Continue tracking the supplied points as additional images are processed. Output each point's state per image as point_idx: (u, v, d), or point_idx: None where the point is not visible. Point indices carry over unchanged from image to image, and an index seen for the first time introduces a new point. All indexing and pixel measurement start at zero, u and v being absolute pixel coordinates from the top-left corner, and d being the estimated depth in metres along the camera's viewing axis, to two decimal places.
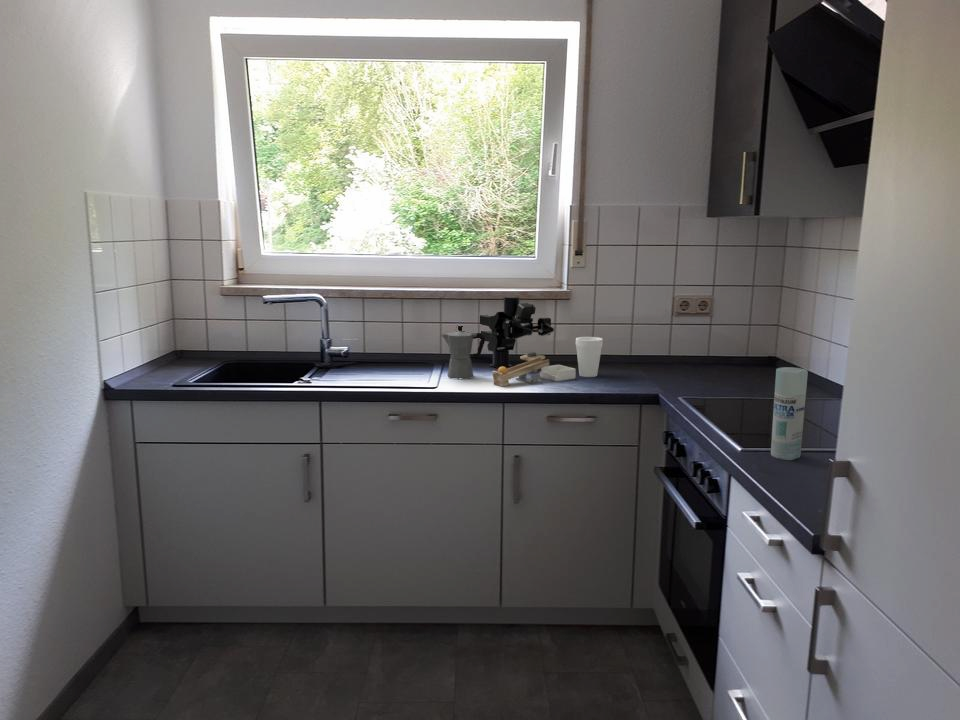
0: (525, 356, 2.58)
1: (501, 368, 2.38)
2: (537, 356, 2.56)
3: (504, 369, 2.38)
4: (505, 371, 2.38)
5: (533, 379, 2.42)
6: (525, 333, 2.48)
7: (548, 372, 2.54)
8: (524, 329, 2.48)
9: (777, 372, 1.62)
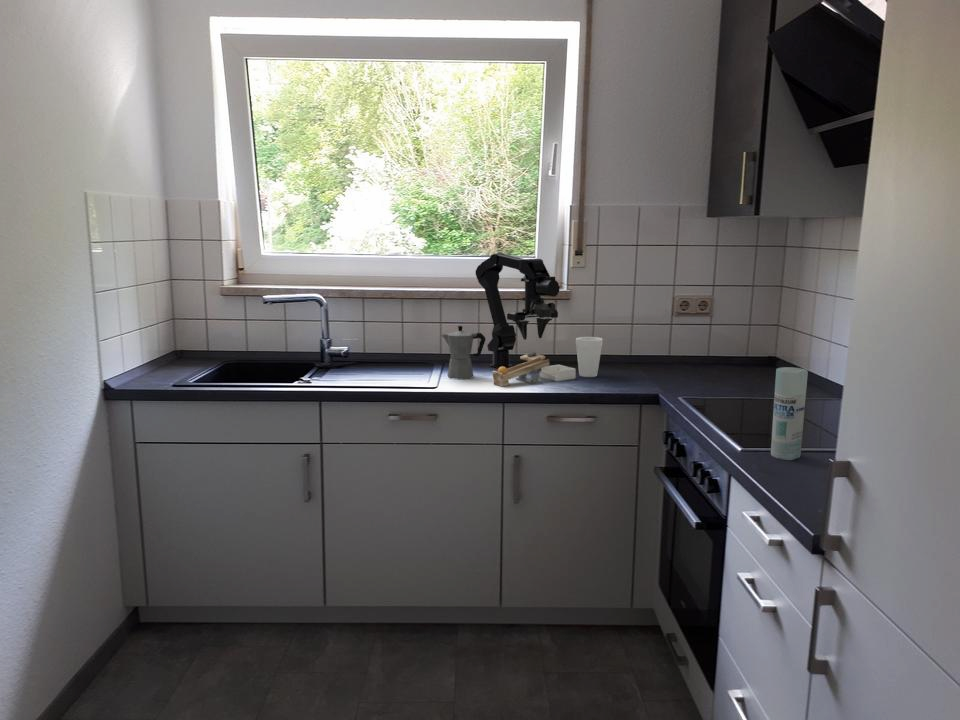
0: (525, 356, 2.58)
1: (501, 368, 2.38)
2: (537, 356, 2.56)
3: (504, 369, 2.38)
4: (505, 371, 2.38)
5: (533, 379, 2.42)
6: (521, 332, 2.55)
7: (548, 372, 2.54)
8: (523, 331, 2.54)
9: (777, 372, 1.62)
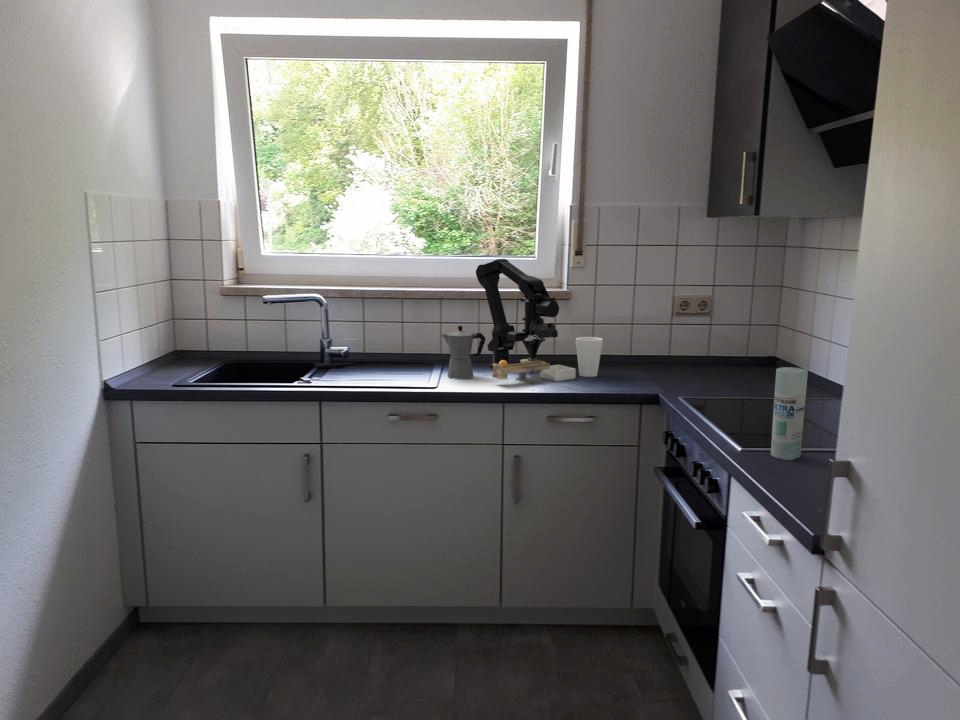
0: (525, 360, 2.58)
1: (502, 361, 2.38)
2: None
3: (505, 363, 2.38)
4: (506, 365, 2.38)
5: (533, 379, 2.42)
6: (528, 351, 2.58)
7: (548, 372, 2.54)
8: (530, 351, 2.57)
9: (777, 372, 1.62)
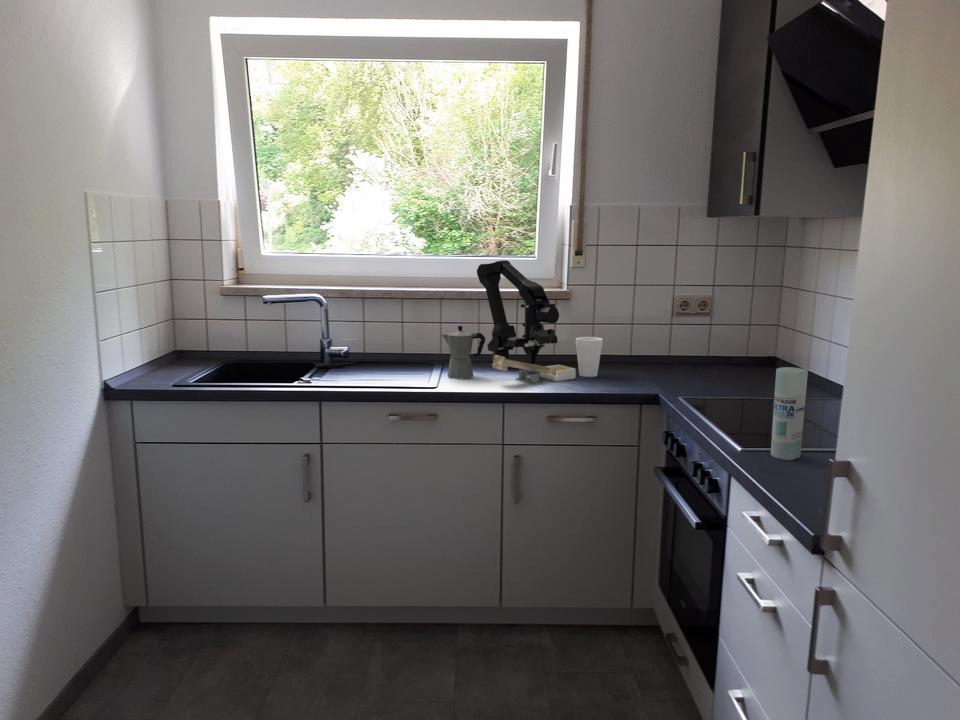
0: None
1: None
2: None
3: None
4: None
5: (533, 379, 2.42)
6: (528, 357, 2.58)
7: None
8: (530, 356, 2.57)
9: (777, 372, 1.62)
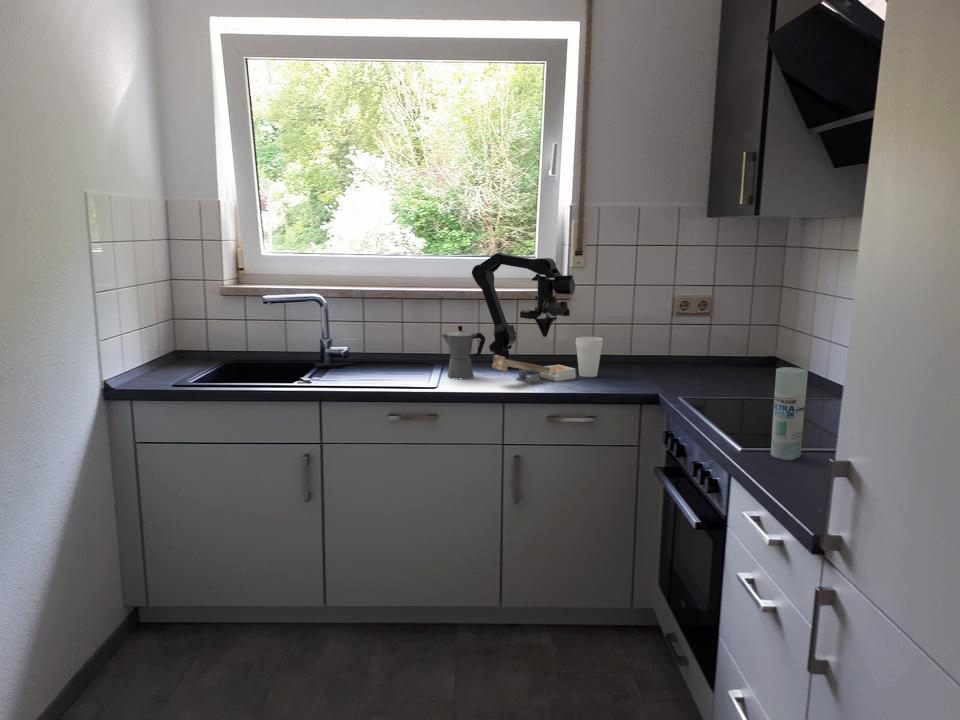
0: None
1: None
2: None
3: None
4: None
5: (533, 379, 2.42)
6: (541, 329, 2.62)
7: None
8: (543, 329, 2.61)
9: (777, 372, 1.62)
